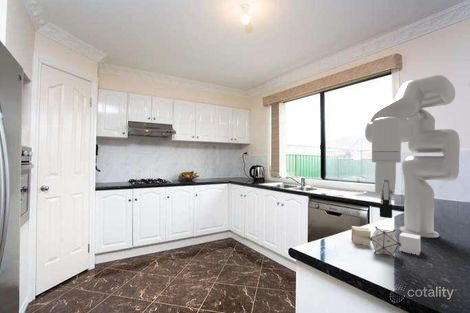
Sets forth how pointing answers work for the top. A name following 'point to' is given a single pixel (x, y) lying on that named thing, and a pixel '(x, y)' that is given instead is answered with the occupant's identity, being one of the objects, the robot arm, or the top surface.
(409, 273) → the top surface
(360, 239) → the ash block
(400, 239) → the white block
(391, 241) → the game die
